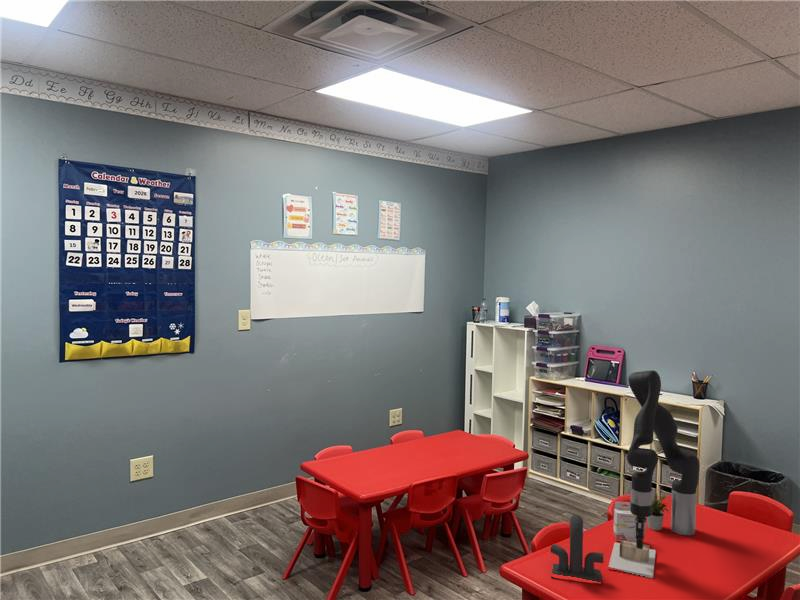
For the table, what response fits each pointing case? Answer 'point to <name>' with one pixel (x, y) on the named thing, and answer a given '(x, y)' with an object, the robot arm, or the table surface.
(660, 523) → the house plant
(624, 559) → the grey board
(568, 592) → the table surface
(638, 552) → the wooden block
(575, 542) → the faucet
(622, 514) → the ink cartridge box
